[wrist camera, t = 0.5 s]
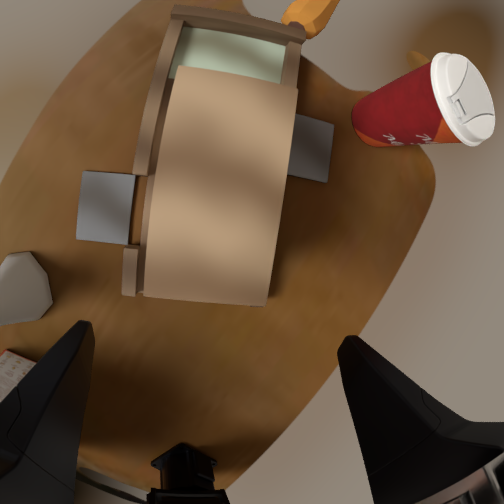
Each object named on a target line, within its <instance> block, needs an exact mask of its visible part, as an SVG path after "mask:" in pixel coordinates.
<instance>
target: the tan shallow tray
mask: <svg viewBox="0 0 504 504" xmlns="http://www.w3.org/2000/svg"><path fill="white" fill-rule="evenodd" d="M306 33H307V31H304V30H301V29H298V28H295V27H291V26H288V25H285V24H281V23H277V22H273V21H269V20H266V19H262V18H258V17H254V16H249V15H244V14H240V13H234V12H229V11H223V10H217V9H211V8H203V7H195V6H186V5H174V7H173V10H172V12H171V21H170V23H169V26H168V29H167V32H166V35H165V38H164V41H163V44H162V47H161V50H160V53H159V57H158V60H157V63H156V67H155V70H154V74H153V77H152V81H151V85H150V89H149V93H148V97H147V101H146V105H145V109H144V114H143V118H142V123H141V127H140V132H139V137H138V142H137V148H136V153H135V159H134V165H133V171H132V174H134V175H128V174H116V173H104V172H90V171H83V174H82V181H81V189H80V197H79V207H78V218H77V232H76V239H81V240H89V241H98V242H107V243H116V244H125V245H127V246H126V247H124V253H123V270H122V295H126V296H136V294H137V292H140V293H144V276H145V261H146V249H147V238H148V228H149V219H150V210H151V202H152V195H153V187H154V181H155V174H156V168H157V162H158V156H159V150H160V145H161V139H162V134H163V129H164V124H165V119H166V114H167V110H168V105H169V101H170V97H171V92H172V88H173V84H174V80H175V76H176V72H177V69H178V65H180V66H188V67H196V68H203V69H210V70H216V71H222V72H228V73H233V74H238V75H243V76H248V77H252V78H257V79H261V80H266V81H270V82H274V83H278V84H282V85H285V86H289V87H293V88H296V86H297V78H298V70H299V62H300V54H301V46H302V44H303V43H304V42H305V41H306ZM333 132H334V125H333V124H330V123H327V122H324V121H320V120H317V119H314V118H310V117H307V116H303V115H299V114H296V113H295V120H294V127H293V134H292V142H291V149H290V156H289V163H288V170H287V175H292V176H297V177H301V178H306V179H311V180H315V181H320V182H324V183H327V181H328V173H329V166H330V158H331V149H332V141H333ZM136 176H146V177H148V181H147V188H146V195H145V203H144V211H143V220H142V230H141V240H140V246H139V245H130V244H128V240H129V228H130V218H131V209H132V201H133V193H134V186H135V179H136ZM250 307H263V306H252V305H250Z"/></svg>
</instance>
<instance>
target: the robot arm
mask: <svg viewBox="0 0 504 504" xmlns="http://www.w3.org/2000/svg"><path fill="white" fill-rule="evenodd" d="M94 347H95V337H94V332H93V328H92V324H91V322H89V321H84V320H79V321H78V322H77V323H75V324H74V325H73V326H72V327H71V328H70V329H69V330H68V331H67V332H66V333H65V334H64V335H63V336H62V337H61V338H60V339H59V340H58V341H57V342H56V343H55V344H54V345H53V346H52V347H51V348H50V350H49V351H48V352H47V353H46V354H45V355H44V356H43V357H42V358H41V359H40V360H39V361H38V362H37V363H36V364H35V365H34V366H33V367H32V368H31V369H30V371H29V372H28V373H27V374H26V375H25V376H24V377H23V378H22V379H21V380H20V381H19V383H18V384H17V386H15V387H14V388H13V389H12V390H11V391H10V392H9V394H8V395H7V396H6V397H5V398H4V399H3V400H2V401H1V402H0V504H74V487H75V475H76V465H77V457H78V449H79V442H80V435H81V429H82V423H83V417H84V412H85V407H86V402H87V397H88V392H89V387H90V380H91V370H92V362H93V354H94ZM337 357H338V362H339V367H340V372H341V377H342V383H343V387H344V391H345V395H346V398H347V402H348V405H349V409H350V412H351V416H352V419H353V422H354V426H355V430H356V433H357V437H358V441H359V444H360V448H361V452H362V456H363V460H364V464H365V468H366V472H367V476H368V480H369V484H370V488H371V493H372V497H373V501H374V504H504V422H473V421H469V420H466V419H464V418H462V417H461V416H459V415H458V414H456V413H455V412H453V411H452V410H451V409H449V408H447V407H446V406H445V405H443V404H442V403H440V402H439V401H438V400H436V399H435V398H434V397H432V396H431V395H430V394H428V393H427V392H426V391H425V390H424V389H422V388H420V386H419V385H417V384H416V383H415V382H414V381H412V380H411V379H410V378H408V377H407V376H406V375H405V374H404V373H402V372H401V371H400V370H399V369H398V368H396V367H395V366H394V365H393V364H391V363H390V362H389V361H388V360H387V359H385V358H384V357H383V356H382V355H380V354H379V353H378V352H377V351H375V350H374V349H373V348H372V347H370V346H369V345H368V344H367V343H366V342H364V341H363V340H362V339H361V338H359V337H358V336H356V335H348V336H346V337H345V339H344V340H343V342H342V344H341V345H340V347H339V348H338V351H337ZM216 465H217V461H216V460H214V459H212V458H210V457H208V456H206V455H204V454H202V453H200V452H198V451H196V450H194V449H192V448H190V447H188V446H186V445H185V444H178V445H176V446H175V447H173V448H172V449H170V450H169V451H167V452H166V453H164V454H162V455H161V456H159V457H158V458H156V459H155V460H153V461H151V466H152V467H154V468H156V469H158V470H160V482H161V489H156V488H151V492H149V494H147V504H230V503H229V500H228V497H227V495H226V492H225V490H224V489H220V490H215V489H214V484H213V482H214V481H215V479H214V474H213V469H212V468H213V467H215V466H216Z"/></svg>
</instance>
